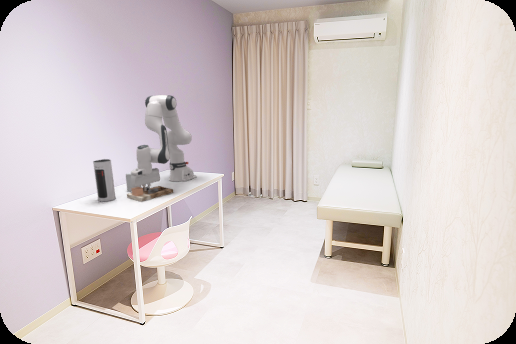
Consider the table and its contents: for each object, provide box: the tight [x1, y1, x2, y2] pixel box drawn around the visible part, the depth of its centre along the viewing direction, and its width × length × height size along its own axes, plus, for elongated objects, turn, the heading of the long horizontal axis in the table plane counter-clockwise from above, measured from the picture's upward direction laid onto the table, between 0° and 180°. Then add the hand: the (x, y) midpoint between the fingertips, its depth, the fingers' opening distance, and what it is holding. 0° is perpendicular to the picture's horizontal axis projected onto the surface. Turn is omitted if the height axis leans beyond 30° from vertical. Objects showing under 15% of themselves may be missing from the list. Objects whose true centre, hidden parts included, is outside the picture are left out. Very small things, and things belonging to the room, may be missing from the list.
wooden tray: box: [126, 185, 174, 203], centre depth 218 cm, size 25×16×5 cm, turn 142°
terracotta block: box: [131, 186, 143, 196], centre depth 210 cm, size 5×5×4 cm
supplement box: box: [125, 172, 143, 193], centre depth 230 cm, size 7×7×13 cm
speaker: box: [92, 158, 116, 203], centre depth 207 cm, size 11×10×26 cm
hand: (147, 190), depth 216 cm, fingers closed
